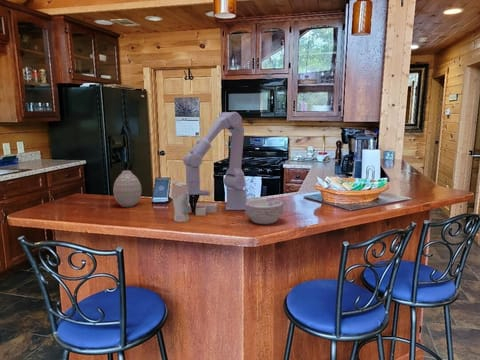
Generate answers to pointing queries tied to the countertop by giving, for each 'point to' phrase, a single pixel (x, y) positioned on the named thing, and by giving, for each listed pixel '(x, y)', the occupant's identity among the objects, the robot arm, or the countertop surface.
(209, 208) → the white striped box
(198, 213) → the stub
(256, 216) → the paper bowls
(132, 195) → the vase
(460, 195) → the countertop surface
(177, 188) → the beer glass
